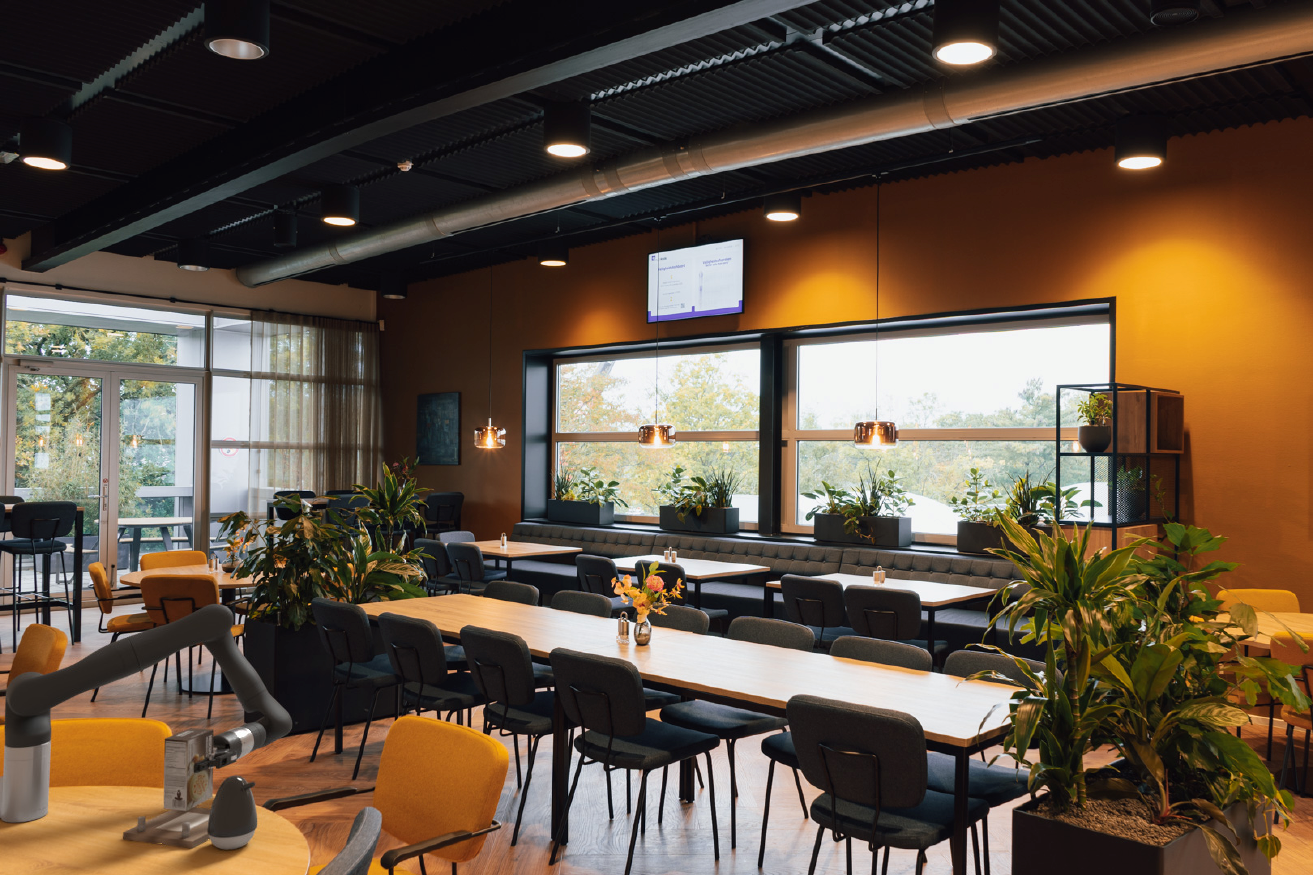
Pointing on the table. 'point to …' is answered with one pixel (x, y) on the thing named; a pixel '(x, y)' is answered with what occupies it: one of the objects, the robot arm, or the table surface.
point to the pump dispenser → (232, 814)
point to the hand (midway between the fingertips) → (182, 766)
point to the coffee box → (187, 769)
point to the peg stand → (173, 828)
